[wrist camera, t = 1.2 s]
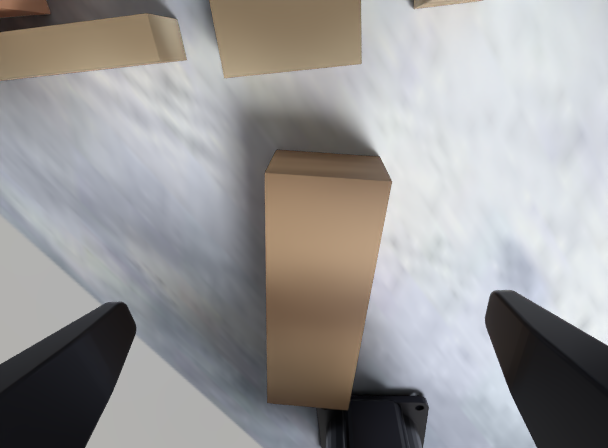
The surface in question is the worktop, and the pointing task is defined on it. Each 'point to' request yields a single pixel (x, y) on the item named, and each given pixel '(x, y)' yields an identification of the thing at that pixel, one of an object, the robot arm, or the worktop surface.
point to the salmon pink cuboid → (23, 8)
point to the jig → (169, 47)
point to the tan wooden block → (319, 271)
